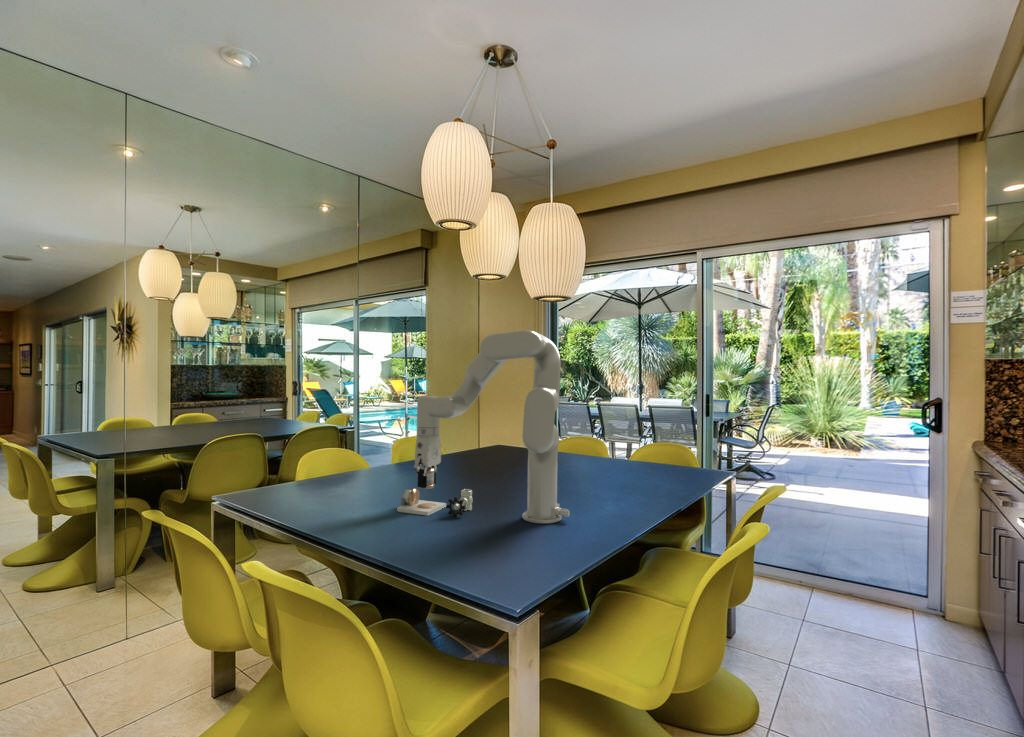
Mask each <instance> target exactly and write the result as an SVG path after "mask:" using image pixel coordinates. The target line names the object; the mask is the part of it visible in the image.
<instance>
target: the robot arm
mask: <svg viewBox="0 0 1024 737" xmlns="http://www.w3.org/2000/svg"><path fill="white" fill-rule="evenodd" d="M524 358H525V359H526V358H527V359H528V358H529V359H533V361H534V370H533V385H532V389H531V390H530V391H529V392H528V393H527V395H526V398H525V400H524V407H523V408H524V409H523V422H522V434H521V436H522V437H521V438H522V442H523V443H522V444H523V445H524V447H525V448H526V449H527V452H528V453H527V455H528V456H527V498H526V500H527V507H526V508H527V509H526V511H524V512H523V513H522V516H521V517H522V518H521V519H523V520H524V521H526V522H529V523H531V524H554V523H558V522H560V521H561V520H562V518H563V517H567V518H569V517H570V510H569V509H568V508H562V507H560V504H561V503H558V459H559V458H558V456H559V454H558V453H559V443H560V442H559V441H560V440H559V439H560V438H559V430H558V427H557V426H556V424H555V417H556V411H557V410H558V408H559V405H560V391H561V389H560V388H561V367H562V366H561V364H562V363H561V355H560V351H559V349H558V348H557V345H556V344H555V343H554V342H553V341H552V340H551V339H549V338H548V337H546V336H545V335H543V334H541V333H539V332H537V331H534V330H531V329H525V330H517V331H516V330H515V331H509V332H500V333H499V332H498V333H492V334H489V335H487V336H485V337H484V338H483V339H482V340H481V342H480V345H479V352H478V353H477V355H476V356H475V357H474V358H473V359H472V360H471V362H470V363H469V364H468V365H467V367H466V369H465V376H464V380H463V381H462V383H461V384H460V386H459V387H458V388H456V390H455V391H454V392H453V393H452V395H445V396H437V395H420V396H419V397H418V398H417V406H416V407H417V408H416V410H417V411H416V412H417V413H416V442H415V449H414V465H413V469H414V470H415V472H416V475H417V487H418V488H420V487H421V488H426V487H427V476H425V475H426V470H427V467H433V468H434V469H435V472H434V485H436V484H437V472H438V467H439V464H441V462H442V447H441V437H440V419H446V420H447V419H453V418H457V417H461V416H462V415H463V414H464V413H466V412H467V411H468V409H469V408H470V407H471V406H472V405H473V404H474V402H475V401H476V400H477V399H478V397H479V396H480V394H481V393H482V391H483V390H484V388H485V387H486V385H487V384H488V382H489V381H490V380H491V379H492V378H493V376H495V374H496V373H497V372H498V371H499V370H500V369H501V367H502V366H503V365H504V364H505V363H506V362H507V361H508V360H515V359H524ZM421 468H424V469H423V470H422V469H421ZM421 488H420V489H421Z"/></svg>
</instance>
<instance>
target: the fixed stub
mask: <svg viewBox="0 0 1024 737" xmlns="http://www.w3.org/2000/svg"><path fill="white" fill-rule="evenodd" d="M420 495H421V493H420V491H419V489H418V488H412V489H405V490H404V491H403V492H402V496H401V499H400V500H401V504H400V506H405V505H407V504H410V506H413V505H415V504H417V503H418V502H419V500H420Z"/></svg>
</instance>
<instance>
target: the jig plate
mask: <svg viewBox="0 0 1024 737" xmlns="http://www.w3.org/2000/svg"><path fill="white" fill-rule="evenodd" d="M446 505H447V503H446V502H439V501H431V500H430V501H429V500H423V499H419V502H418V503H417V504H415V505H413V506H410V504H407V505H405V506H401V505H400V506H398V507H396V512H397V511H398V512H399V513H407V514H413V515H420V516H421V515H422V516H427V517H428V516H430V515H433V514H434V513H436V512H438V511H440V510H442V508H443V509H445V508H446ZM444 507H445V508H444Z"/></svg>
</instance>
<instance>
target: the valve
mask: <svg viewBox="0 0 1024 737" xmlns="http://www.w3.org/2000/svg"><path fill="white" fill-rule="evenodd" d="M460 495H461V496H460V499H459V496H457V495H456V496H455V497H453V498H449V499H448V501H447V502H449V503H448V504H446V507H445V508H446V509H449V510H448V513H447V514H448V515H452V514H453V517H454V518H457V516H458V517H459V515H460V516H461V517H462V516H463V515H464V511H465V512H467V510H470V511H472V510H473V490H472V489H470V488H464V489H462V490H461V491H460ZM458 499H459V500H458ZM452 505H453V508H452ZM454 510H455V511H454ZM463 510H464V511H463Z"/></svg>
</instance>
